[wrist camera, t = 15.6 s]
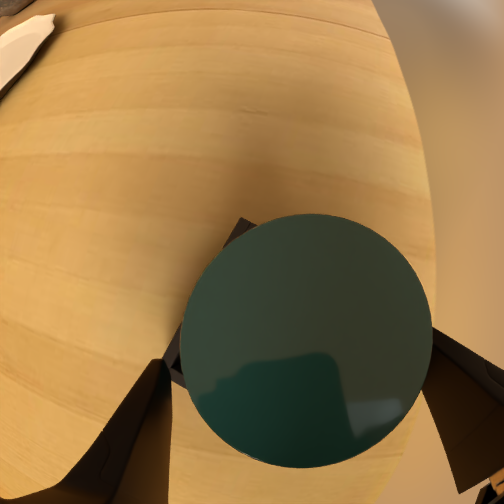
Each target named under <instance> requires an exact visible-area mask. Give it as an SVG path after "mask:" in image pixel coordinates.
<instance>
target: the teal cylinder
mask: <svg viewBox="0 0 504 504" xmlns="http://www.w3.org/2000/svg"><path fill="white" fill-rule="evenodd" d="M431 352H432V321H431V314H430V309H429V305H428V301H427V298H426V295H425V292H424V290H423V287H422V285H421V283H420V281H419V279H418V277H417V275H416V273H415V271H414V270H413V268H412V267H411V266H410V264H409V263H408V261H407V260H406V259H405V257H404V256H403V255H402V254H401V253H400V252H399V251H398V250H397V249H396V248H395V247H394V246H393V245H392V244H391V243H390V242H388V241H387V240H386V239H385V238H384V237H382V236H381V235H379V234H378V233H376V232H374V231H373V230H371V229H369V228H367V227H365V226H363V225H361V224H359V223H357V222H354V221H351V220H348V219H345V218H341V217H336V216H331V215H322V214H300V215H291V216H286V217H281V218H277V219H274V220H271V221H268V222H265V223H262V224H260V225H258V226H256V227H254V228H252V229H250V230H248V231H246V232H245V233H243V234H242V235H240V236H239V237H237V238H236V239H234V240H233V241H232V242H230V243H229V244H228V245H227V246H226V247H225V248H224V249H222V250H221V251H220V252H219V253H218V254H217V255H216V256H215V258H214V259H213V260H212V261H211V262H210V263H209V264H208V266H207V267H206V268H205V270H204V271H203V273H202V274H201V276H200V277H199V279H198V281H197V282H196V284H195V286H194V288H193V291H192V293H191V295H190V297H189V299H188V302H187V306H186V309H185V312H184V315H183V320H182V326H181V331H180V360H181V369H182V373H183V377H184V381H185V385H186V387H187V390H188V392H189V395H190V397H191V400H192V402H193V404H194V405H195V407H196V409H197V410H198V412H199V414H200V415H201V417H202V418H203V420H204V421H205V422H206V423H207V424H208V426H209V427H210V428H211V429H212V430H213V431H214V432H215V433H216V434H217V435H218V436H219V437H220V438H221V439H222V440H223V441H224V442H226V443H227V444H229V445H230V446H232V447H233V448H234V449H236V450H237V451H239V452H241V453H243V454H245V455H247V456H249V457H251V458H253V459H255V460H258V461H261V462H264V463H267V464H271V465H276V466H281V467H287V468H313V467H322V466H327V465H331V464H336V463H339V462H342V461H344V460H347V459H350V458H353V457H355V456H357V455H359V454H361V453H362V452H364V451H366V450H368V449H370V448H371V447H373V446H374V445H375V444H377V443H378V442H380V441H381V440H382V439H383V438H385V437H386V436H387V435H388V434H389V433H390V432H391V431H393V430H394V429H395V427H396V426H397V425H398V424H399V423H400V422H401V421H402V420H403V418H404V417H405V416H406V414H407V413H408V412H409V410H410V409H411V407H412V406H413V404H414V402H415V400H416V399H417V397H418V395H419V393H420V391H421V389H422V386H423V383H424V381H425V378H426V375H427V372H428V368H429V364H430V359H431Z"/></svg>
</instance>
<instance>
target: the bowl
mask: <svg viewBox="0 0 504 504" xmlns="http://www.w3.org/2000/svg"><path fill="white" fill-rule="evenodd" d="M33 1H34V0H0V16H11V15H14V14H16V13H18V12H19V11H21V10H22V9H23V8H25V7H26V6H27V5H29V4H30V3H31V2H33Z"/></svg>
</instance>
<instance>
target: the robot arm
mask: <svg viewBox="0 0 504 504" xmlns="http://www.w3.org/2000/svg"><path fill="white" fill-rule="evenodd" d="M421 390H422V392H423V395H424V397H425V400H426V402H427V404H428V407H429V409H430V412H431V414H432V417H433V419H434V422H435V424H436V427H437V430H438V432H439V435H440V438H441V440H442V444H443V446H444V449H445V452H446V454H447V458H448V461H449V464H450V467H451V471H452V473H453V477H454V480H455V484H456V487H457V491H458V493H459V494H461V493H463V492H464V491H466V490H468V489H470V488H472V487H473V486H475V485H477V484H478V483H480V482H482V481H484V480H485V479H487V478H489V480H490V483H488V484H487V485H486V486H484V487H483V488H482V489H480V492H479V494H478V497H477V500H476V503H475V504H504V370H502V369H501V368H499V367H497V366H495V365H494V364H492V363H491V362H489V361H487V360H485V359H484V358H483V357H481V356H479V355H478V354H476V353H474V352H473V351H471V350H470V349H468V348H466V347H465V346H463V345H462V344H460V343H458V342H457V341H455V340H453V339H452V338H450V337H448V336H447V335H445V334H443V333H442V332H440V331H439V330H437V329H435V328H434V327H432V352H431V359H430V364H429V368H428V372H427V375H426V378H425V381H424V383H423V386H422V389H421ZM171 430H172V389H171V374H170V371H169V369H168V367H167V364H166V362H165V360H164V359H152V360H151V361H150V363H149V364H148V366H147V367H146V368H145V370H144V371H143V373H142V374H141V376H140V377H139V378H138V380H137V381H136V383H135V384H134V385H133V387H132V388H131V390H130V391H129V393H128V394H127V395H126V397H125V398H124V400H123V401H122V403H121V404H120V405H119V407H118V408H117V410H116V411H115V413H114V414H113V416H112V417H111V418H110V420H109V421H108V423H107V424H106V426H105V427H104V429H103V431H101V433H100V434H99V436H98V437H97V439H96V440H95V441H94V443H93V444H92V445H91V447H90V448H89V449H88V451H87V452H86V453H85V454H84V455H83V457H82V458H81V459H80V460H79V461H78V462H77V464H76V465H75V466H74V467H73V468H72V469H71V470H70V472H69V473H68V474H67V475H66V476H65V477H64V478H63V479H62V480H61V481H60V482H59V483H57V484H56V485H54V486H52V487H50V488H47V489H44V490H41V491H38V492H35V493H32V494H29V495H26V496H23V497H19V498H15V499H3V498H1V497H0V504H168V489H169V463H170V445H171Z"/></svg>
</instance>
